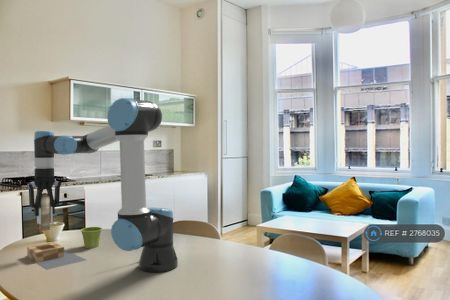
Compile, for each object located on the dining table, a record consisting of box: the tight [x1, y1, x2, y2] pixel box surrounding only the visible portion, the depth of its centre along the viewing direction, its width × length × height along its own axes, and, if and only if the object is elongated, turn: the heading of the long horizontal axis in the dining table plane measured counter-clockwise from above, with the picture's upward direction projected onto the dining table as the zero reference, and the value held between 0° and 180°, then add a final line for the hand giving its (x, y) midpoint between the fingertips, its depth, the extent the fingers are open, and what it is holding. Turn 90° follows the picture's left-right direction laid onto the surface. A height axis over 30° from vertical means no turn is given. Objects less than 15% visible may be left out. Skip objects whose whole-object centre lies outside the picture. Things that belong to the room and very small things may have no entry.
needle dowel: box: [39, 192, 51, 232], centre depth 162 cm, size 4×4×16 cm
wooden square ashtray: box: [26, 241, 65, 263], centre depth 162 cm, size 11×11×4 cm
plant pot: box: [80, 226, 103, 249], centre depth 178 cm, size 9×9×9 cm
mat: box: [24, 249, 87, 270], centre depth 160 cm, size 24×16×1 cm, turn 46°
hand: (44, 222), depth 162 cm, fingers closed on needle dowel, 4 cm apart
